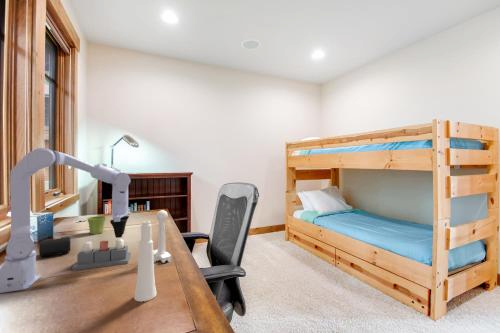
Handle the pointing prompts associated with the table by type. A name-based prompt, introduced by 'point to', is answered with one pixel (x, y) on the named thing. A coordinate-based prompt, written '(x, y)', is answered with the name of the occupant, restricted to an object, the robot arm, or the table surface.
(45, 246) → the end cap
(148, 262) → the cosmetic bottle
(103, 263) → the socket strip
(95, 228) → the plant pot
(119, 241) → the far ivory plug
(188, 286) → the table surface
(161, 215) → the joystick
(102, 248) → the salmon rounded peg
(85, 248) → the near ivory plug
